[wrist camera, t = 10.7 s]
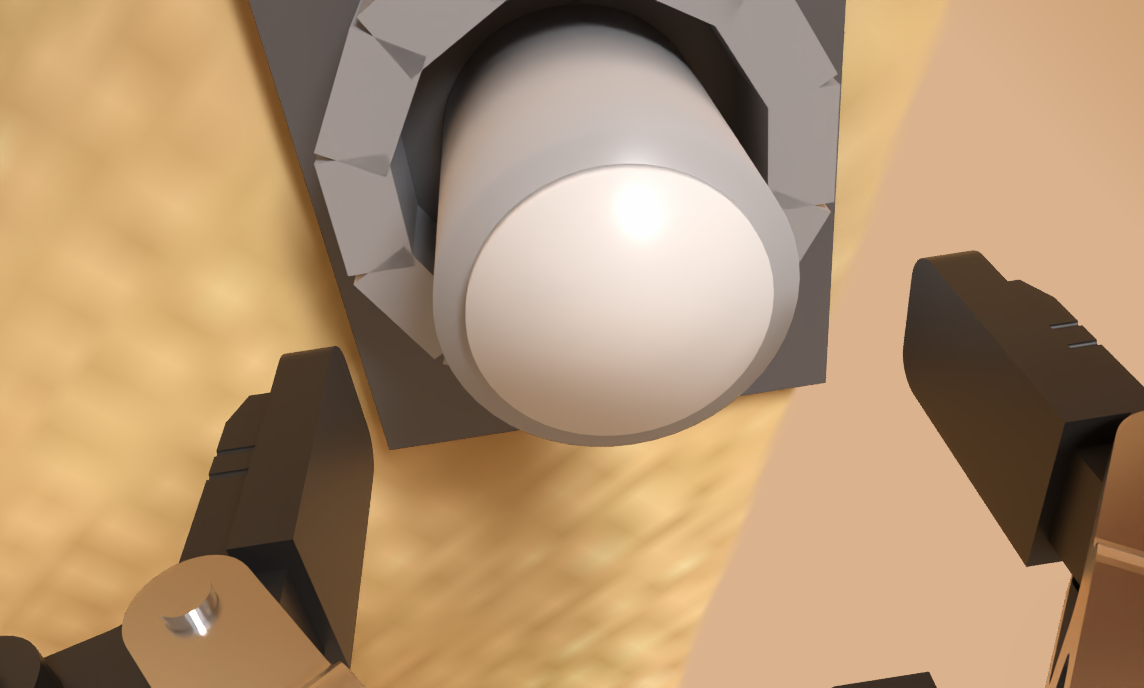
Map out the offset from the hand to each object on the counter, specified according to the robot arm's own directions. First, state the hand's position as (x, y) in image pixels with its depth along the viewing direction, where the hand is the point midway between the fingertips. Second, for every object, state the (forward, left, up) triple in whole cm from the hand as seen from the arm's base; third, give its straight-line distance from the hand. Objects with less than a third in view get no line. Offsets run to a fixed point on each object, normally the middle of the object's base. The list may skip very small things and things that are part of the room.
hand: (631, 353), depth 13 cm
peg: (0, 0, -9) cm, 9 cm away
